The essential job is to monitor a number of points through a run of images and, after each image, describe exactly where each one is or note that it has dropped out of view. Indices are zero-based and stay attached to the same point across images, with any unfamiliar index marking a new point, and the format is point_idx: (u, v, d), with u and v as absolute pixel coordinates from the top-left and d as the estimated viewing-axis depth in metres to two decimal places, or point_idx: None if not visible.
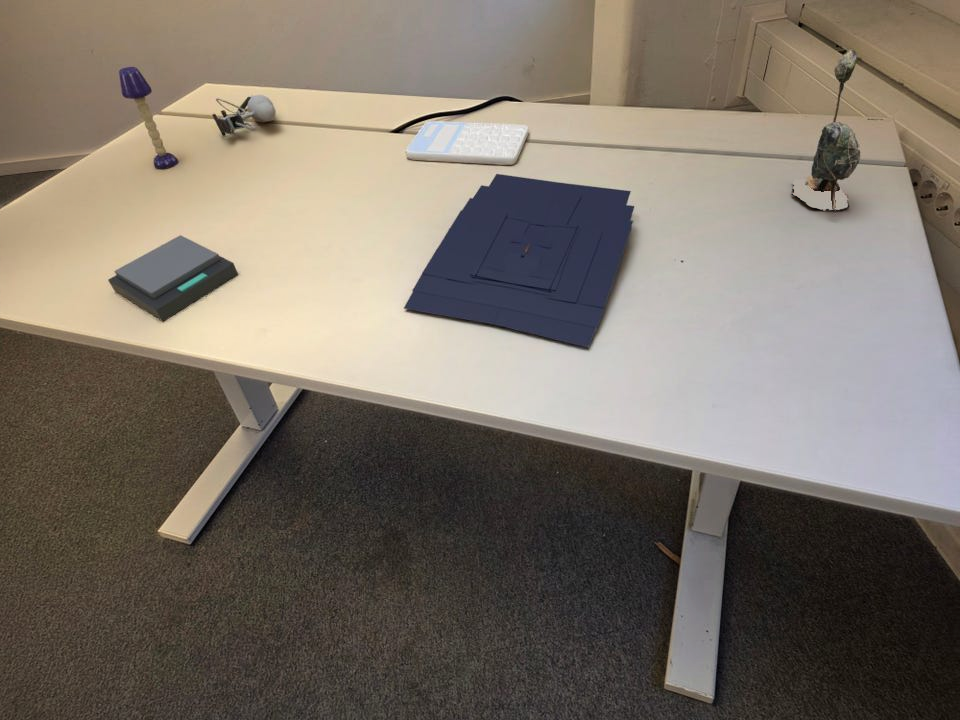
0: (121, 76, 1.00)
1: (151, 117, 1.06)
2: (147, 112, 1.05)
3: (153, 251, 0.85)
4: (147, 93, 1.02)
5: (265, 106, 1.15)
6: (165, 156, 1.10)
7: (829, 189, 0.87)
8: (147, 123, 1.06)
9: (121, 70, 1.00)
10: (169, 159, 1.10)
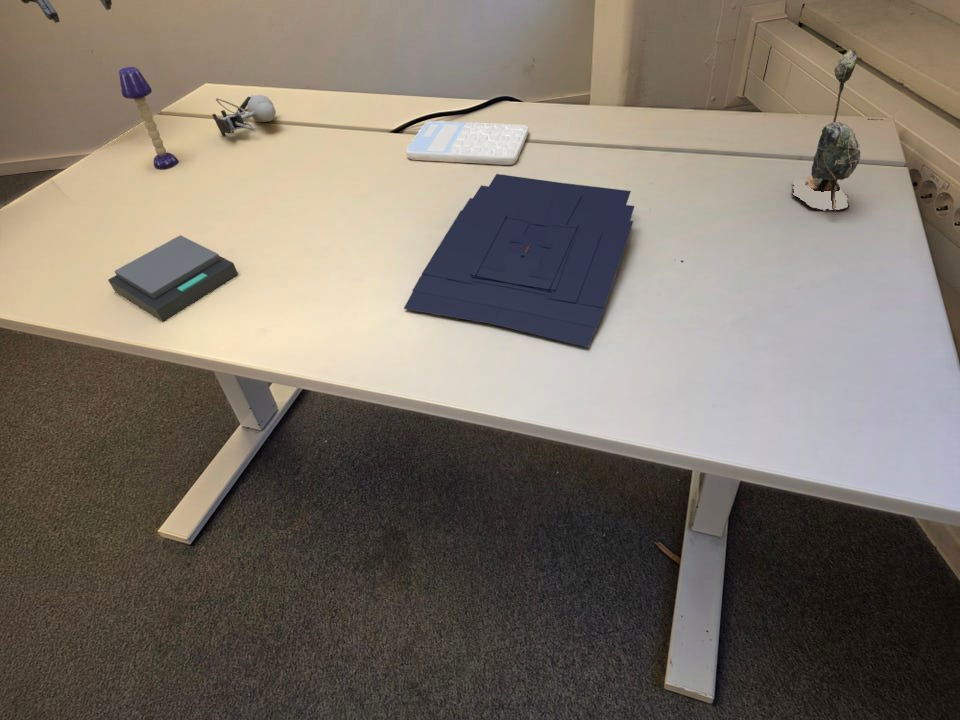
0: (121, 76, 1.00)
1: (151, 117, 1.06)
2: (147, 112, 1.05)
3: (153, 251, 0.85)
4: (147, 93, 1.02)
5: (265, 106, 1.15)
6: (165, 156, 1.10)
7: (829, 189, 0.87)
8: (147, 123, 1.06)
9: (121, 70, 1.00)
10: (169, 159, 1.10)
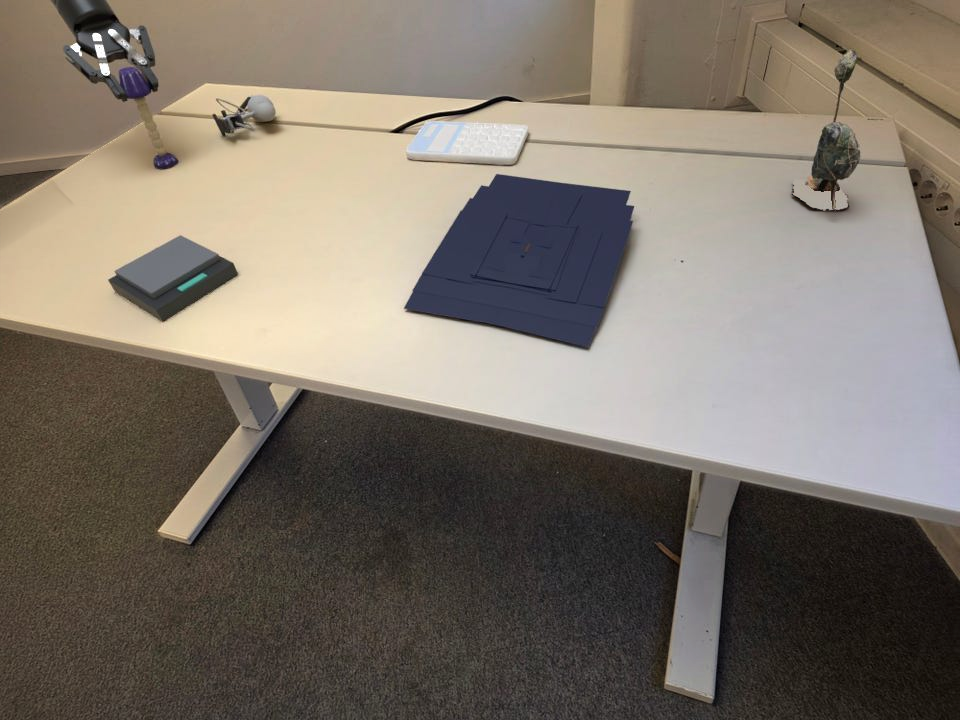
0: (120, 76, 1.00)
1: (151, 117, 1.06)
2: (147, 112, 1.05)
3: (153, 251, 0.85)
4: (147, 93, 1.02)
5: (265, 106, 1.15)
6: (165, 156, 1.10)
7: (829, 189, 0.87)
8: (147, 123, 1.06)
9: (121, 70, 1.00)
10: (169, 159, 1.10)
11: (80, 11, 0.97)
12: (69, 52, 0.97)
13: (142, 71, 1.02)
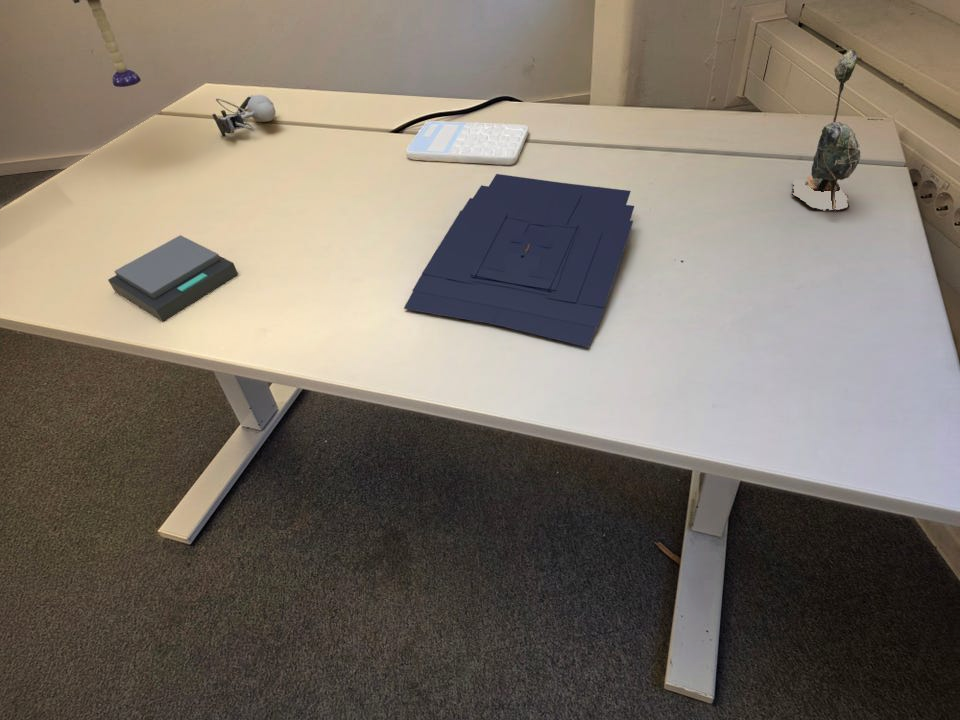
0: None
1: (108, 25, 0.95)
2: (103, 19, 0.94)
3: (153, 251, 0.85)
4: None
5: (265, 106, 1.15)
6: (125, 72, 0.99)
7: (829, 189, 0.87)
8: (104, 31, 0.95)
9: None
10: (130, 76, 0.99)
11: None
12: None
13: None
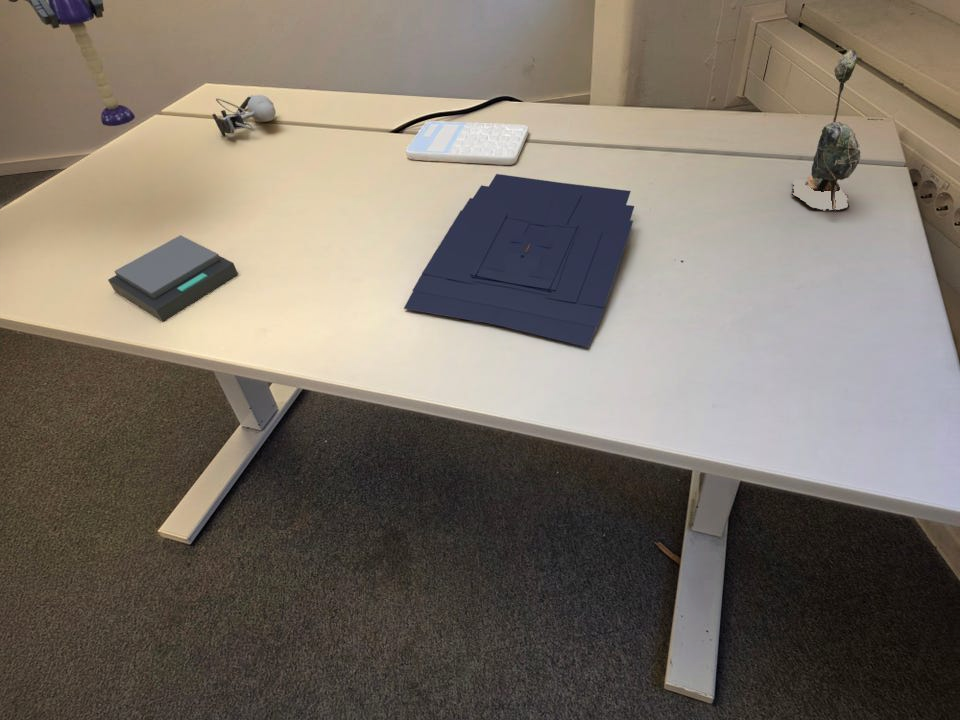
0: None
1: (95, 54, 0.78)
2: (89, 46, 0.77)
3: (153, 251, 0.85)
4: (87, 18, 0.75)
5: (265, 106, 1.15)
6: (116, 109, 0.83)
7: (829, 189, 0.87)
8: (90, 61, 0.78)
9: None
10: (121, 113, 0.83)
11: None
12: None
13: None
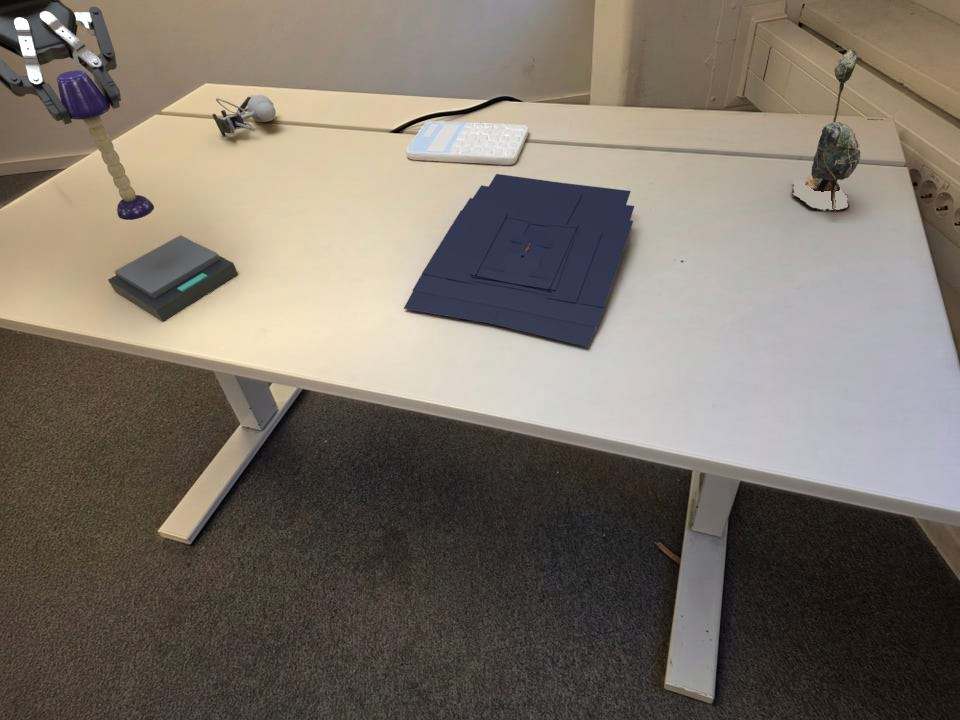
0: (60, 86, 0.64)
1: (111, 146, 0.70)
2: (104, 139, 0.70)
3: (153, 251, 0.85)
4: (102, 111, 0.67)
5: (265, 106, 1.15)
6: (133, 201, 0.75)
7: (829, 189, 0.87)
8: (105, 154, 0.71)
9: (60, 76, 0.65)
10: (140, 205, 0.75)
11: None
12: None
13: (95, 77, 0.67)
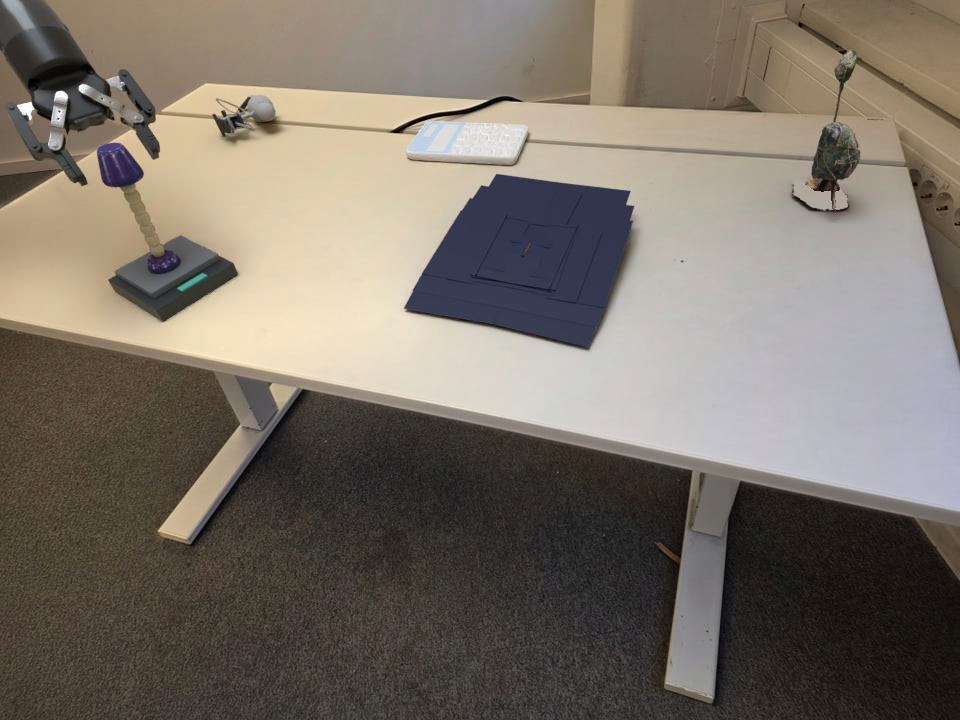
0: (99, 158, 0.70)
1: (143, 208, 0.76)
2: (138, 202, 0.75)
3: None
4: (137, 179, 0.73)
5: (265, 106, 1.15)
6: (162, 256, 0.81)
7: (829, 189, 0.87)
8: (138, 216, 0.76)
9: (100, 149, 0.70)
10: (168, 260, 0.81)
11: (36, 61, 0.66)
12: (11, 112, 0.66)
13: (137, 131, 0.73)
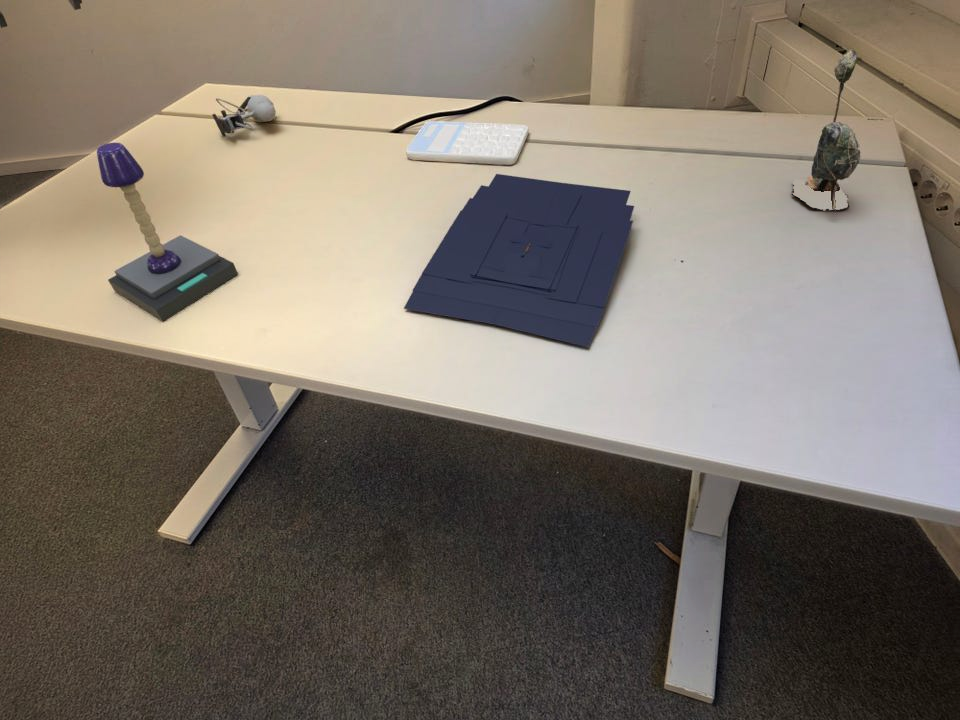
0: (99, 158, 0.70)
1: (143, 208, 0.76)
2: (138, 202, 0.75)
3: None
4: (137, 179, 0.73)
5: (265, 106, 1.15)
6: (162, 256, 0.81)
7: (829, 189, 0.87)
8: (138, 216, 0.76)
9: (100, 149, 0.70)
10: (168, 260, 0.81)
11: None
12: None
13: None
